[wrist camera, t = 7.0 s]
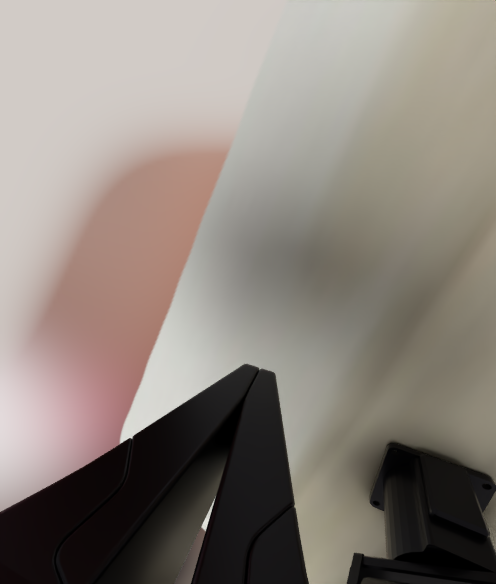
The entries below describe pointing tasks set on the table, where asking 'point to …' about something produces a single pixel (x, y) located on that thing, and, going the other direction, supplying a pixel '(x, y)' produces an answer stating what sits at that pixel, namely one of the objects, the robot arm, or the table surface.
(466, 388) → the table surface
